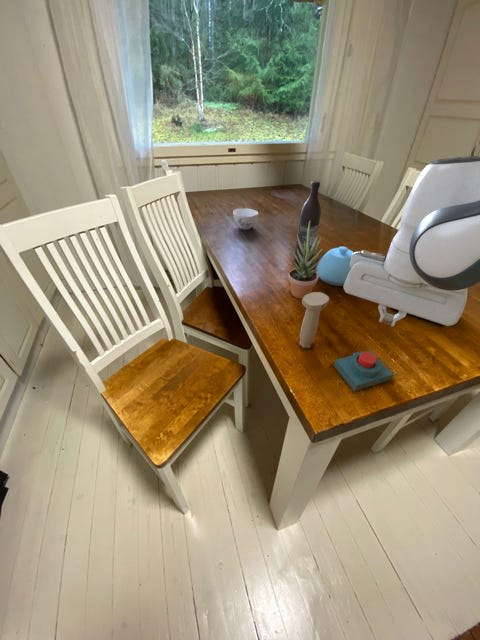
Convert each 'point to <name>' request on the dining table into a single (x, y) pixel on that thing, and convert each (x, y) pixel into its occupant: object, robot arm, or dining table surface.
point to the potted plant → (305, 268)
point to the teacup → (245, 217)
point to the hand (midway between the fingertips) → (386, 322)
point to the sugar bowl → (335, 266)
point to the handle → (311, 316)
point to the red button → (366, 360)
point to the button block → (362, 372)
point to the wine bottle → (309, 219)
